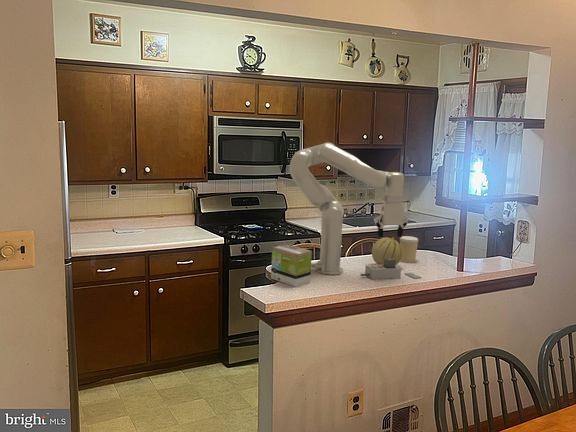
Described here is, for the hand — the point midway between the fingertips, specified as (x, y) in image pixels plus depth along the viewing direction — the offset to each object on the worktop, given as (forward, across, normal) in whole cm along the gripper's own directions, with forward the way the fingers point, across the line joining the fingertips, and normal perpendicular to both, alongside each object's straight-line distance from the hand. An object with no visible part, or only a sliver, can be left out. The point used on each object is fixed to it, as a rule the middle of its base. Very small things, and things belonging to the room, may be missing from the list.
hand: (389, 236), depth 246 cm
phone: (+19, +12, -2) cm, 23 cm away
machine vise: (+19, -4, -1) cm, 19 cm away
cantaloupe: (+19, +7, +14) cm, 25 cm away
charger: (+18, +1, -1) cm, 18 cm away
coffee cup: (+18, +24, +24) cm, 38 cm away
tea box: (+20, -47, 0) cm, 51 cm away
